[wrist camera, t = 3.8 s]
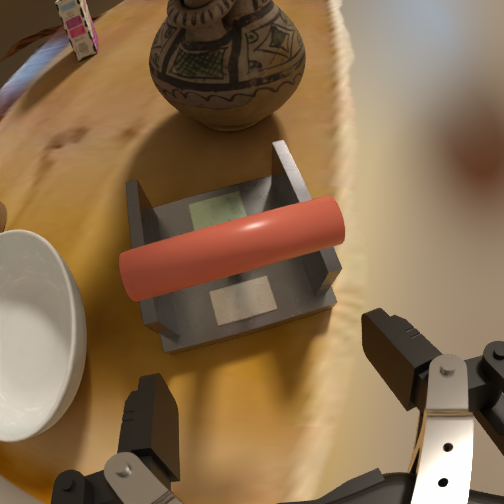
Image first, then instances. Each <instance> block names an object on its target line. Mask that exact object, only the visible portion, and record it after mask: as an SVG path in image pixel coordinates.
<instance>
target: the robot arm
mask: <svg viewBox="0 0 504 504" xmlns="http://www.w3.org/2000/svg"><path fill="white" fill-rule="evenodd" d="M5 222H6V208H5V206H4V205H3V204H2V203H1V202H0V233H2V232H3V229H4V226H5ZM361 322H362V346H363V350H364V353H365V355H366V357H367V358H368V360H369V361H370V362H371V364H372V365H373V366H374V368H375V369H376V370H377V372H378V373H379V374H380V376H381V377H382V378H383V379H384V381H385V382H386V384H387V385H388V386H389V388H390V389H391V390H392V392H393V393H394V394H395V396H396V397H397V398H398V400H399V401H400V402H401V404H402V405H403V407H404V408H405V409H406V411H409V410H411V409H412V408H415V407H417V408H418V409H419V411H420V412H419V417H418V423H417V430H416V436H415V442H414V447H413V453H412V457H411V461H410V464H409V468H408V472H407V473H402V472H396V473H386V474H381V472H380V470H379V468H377V469H375V470H372V471H370V472H368V473H365V474H363V475H361V476H358V477H356V478H353V479H351V480H349V481H347V482H345V483H344V484H342V485H341V486H339V487H337V488H336V489H334V490H333V491H331V492H329V493H328V494H326V495H325V496H323V497H321V498H319V499H317V500H311V501H301V502H287V503H278V504H504V496H499V495H493V494H488V493H484V492H479V491H475V490H470V489H469V483H470V474H471V463H472V448H473V415H474V417H475V418H476V419H477V420H478V422H479V423H480V424H481V426H482V427H483V428H484V430H485V431H486V432H487V434H488V435H489V436H490V438H491V439H492V441H493V442H494V443H495V444H496V446H497V447H498V449H499V450H500V451H501V453H502V454H503V456H504V395H503V394H502V392H503V393H504V342H502V341H494V342H491V343H489V344H488V345H487V346H486V347H485V349H484V352H483V355H482V356H479V357H475V358H471V359H468V360H462V359H461V358H460V357H458V356H456V355H452V354H444V355H443V354H442V353H441V352H440V351H439V350H438V349H437V348H436V347H434V346H433V345H432V344H431V343H430V342H429V341H428V340H427V339H426V338H425V337H424V336H423V335H422V334H420V332H419V331H418V330H417V329H415V328H414V327H413V326H412V325H411V324H410V323H409V322H408V321H407V320H406V319H403V318H401V317H398V316H396V315H393V316H391V317H390V316H389V315H388V314H387V313H386V312H385V311H383V309H381V308H377V309H375V310H372V311H370V312H367V313H364V314H362V317H361ZM122 421H123V423H122V424H121V431H120V438H119V444H118V452H117V454H115V455H114V456H112V457H111V458H110V459H109V460H108V461H107V463H106V464H105V467H104V470H102V471H99V472H96V473H93V474H90V475H87V476H83V475H82V474H81V473H80V472H78V471H76V470H67V471H64V472H62V473H61V474H60V475H59V476H58V477H57V478H56V480H55V482H54V487H53V493H52V500H51V504H184V503H183V502H182V501H181V500H180V499H179V498H178V497H177V496H176V495H175V494H174V493H173V492H171V482H176V481H180V462H179V418H178V408H177V404H176V401H175V399H174V397H173V396H172V394H171V392H170V390H169V389H168V387H167V385H166V383H165V381H164V379H163V378H162V376H161V375H160V374H159V373H157V374H152V375H147V376H142V377H140V379H139V385H138V391H132V392H131V393H130V395H129V397H128V398H127V400H126V401H125V406H124V414H123V418H122Z"/></svg>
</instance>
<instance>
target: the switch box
mask: <svg viewBox="0 0 504 504" xmlns="http://www.w3.org/2000/svg"><path fill="white" fill-rule="evenodd" d="M126 194H127V207H128V218H129V228H130V237H131V246H132V249H134V248H138V247H141V246H144V245H147V244H151V243H154V242H158V241H161V240H164V239H168V238H171V237H175V236H178V235H182V234H185V233H188V232H192V231H196V230H199V229H203V228H206V227H210V226H213V225H217V224H220V223H224V222H228V221H231V220H235V219H239V218H242V217H246V216H250V215H254V214H257V213H261V212H265V211H269V210H273V209H276V208H280V207H284V206H288V205H292V204H296V203H300V202H304V201H308V200H312V198H311V196H310V193H309V191H308V189H307V187H306V185H305V183H304V181H303V179H302V176H301V174H300V172H299V170H298V168H297V166H296V164H295V162H294V160H293V158H292V156H291V154H290V152H289V150H288V148H287V146H286V144H285V142H284V140H281V141H276V142H272V170H271V176H268V177H264V178H259V179H255V180H251V181H247V182H243V183H240V184H236V185H232V186H228V187H224V188H221V189H217V190H213V191H209V192H206V193H202V194H199V195H195V196H192V197H188V198H185V199H181V200H178V201H174V202H171V203H168V204H164V205H161V206H158V207H154V208H153V207H152V206H151V204H150V202H149V200H148V198H147V197H146V195H145V193H144V191H143V189H142V188H141V186H140V184H139V182H138V180H137V179H134V180H131V181H128V182H126ZM341 270H342V267H341V264H340V262H339V259H338V257H337V255H336V252H335V250H334V247H329V248H326V249H322V250H319V251H316V252H312V253H309V254H305V255H302V256H299V257H295V258H292V259H288V260H285V261H281V262H278V263H274V264H271V265H267V266H264V267H261V268H257V269H253V270H250V271H246V272H243V273H239V274H236V275H232V276H229V277H225V278H222V279H218V280H214V281H211V282H207V283H204V284H200V285H197V286H193V287H189V288H186V289H182V290H178V291H175V292H171V293H167V294H164V295H160V296H156V297H153V298H149V299H145V300H141V301H139V302H140V308H141V313H142V319H143V324H144V326H146V327H148V328H150V329H152V330H153V331H155V332H157V333H159V334H160V337H161V341H162V346H163V350H164V352H165V353H167V354H170V355H172V354H176V353H180V352H184V351H188V350H192V349H196V348H200V347H204V346H208V345H212V344H215V343H219V342H223V341H227V340H230V339H234V338H238V337H241V336H245V335H248V334H252V333H255V332H258V331H262V330H265V329H269V328H272V327H275V326H278V325H282V324H285V323H288V322H291V321H295V320H298V319H301V318H304V317H307V316H310V315H313V314H316V313H319V312H322V311H325V310H328V309H331V308H333V307H334V306H335V304H336V303H337V300H336V297H335V295H334V292H333V289H332V287H331V285H332V284H333V282H334V281H335V279H336V277H337V276H338V274H339V273H340V271H341Z"/></svg>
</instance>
